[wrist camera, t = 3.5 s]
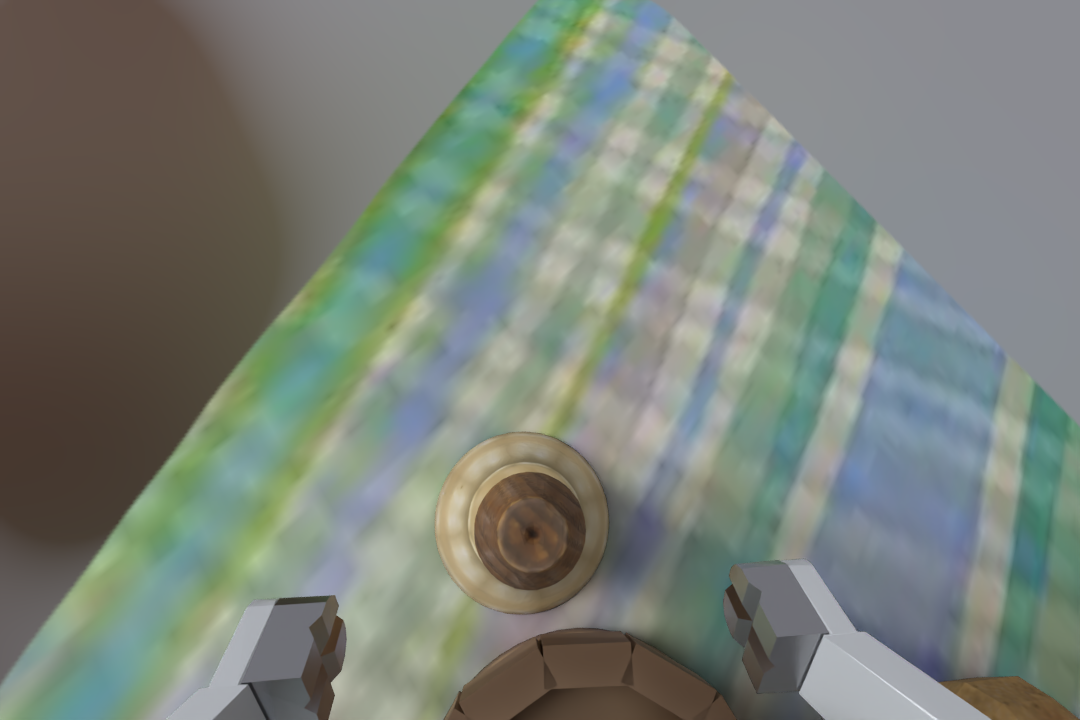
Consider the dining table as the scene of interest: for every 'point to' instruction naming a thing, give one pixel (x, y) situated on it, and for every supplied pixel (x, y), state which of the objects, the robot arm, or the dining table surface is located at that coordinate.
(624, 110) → the dining table surface
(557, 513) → the hand bell
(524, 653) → the tray
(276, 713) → the robot arm
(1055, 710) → the potato
